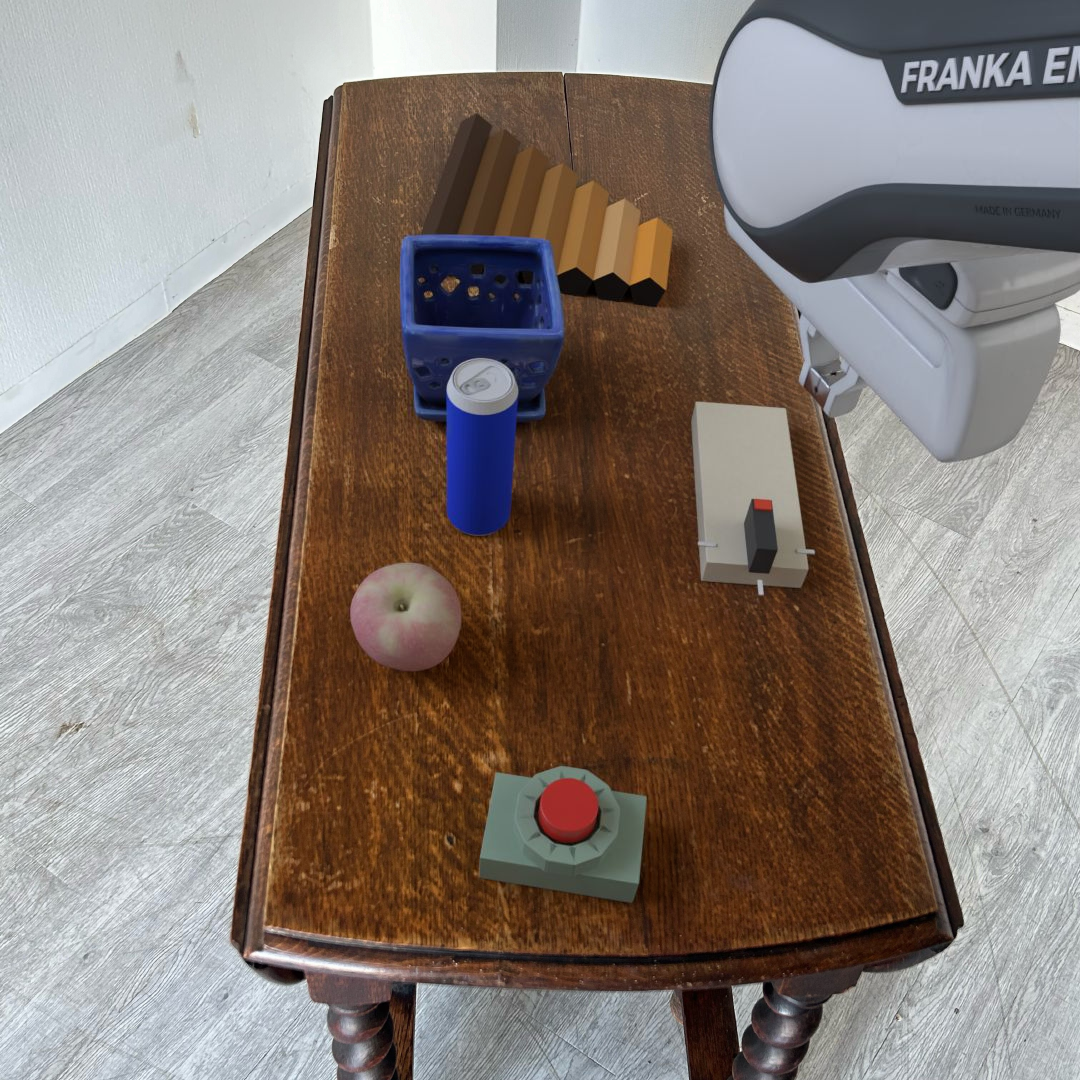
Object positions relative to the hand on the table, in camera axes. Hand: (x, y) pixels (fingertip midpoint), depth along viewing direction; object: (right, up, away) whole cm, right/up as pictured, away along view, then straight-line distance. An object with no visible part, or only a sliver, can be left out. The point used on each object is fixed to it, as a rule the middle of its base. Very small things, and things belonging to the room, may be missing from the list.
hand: (825, 398), depth 60 cm
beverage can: (-20, -6, +32) cm, 38 cm away
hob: (+2, -5, +33) cm, 34 cm away
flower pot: (-21, +6, +41) cm, 47 cm away
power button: (-14, -25, +10) cm, 30 cm away
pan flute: (-14, +26, +58) cm, 66 cm away
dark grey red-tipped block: (+2, -8, +28) cm, 29 cm away
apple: (-25, -16, +23) cm, 37 cm away
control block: (-14, -28, +14) cm, 34 cm away
